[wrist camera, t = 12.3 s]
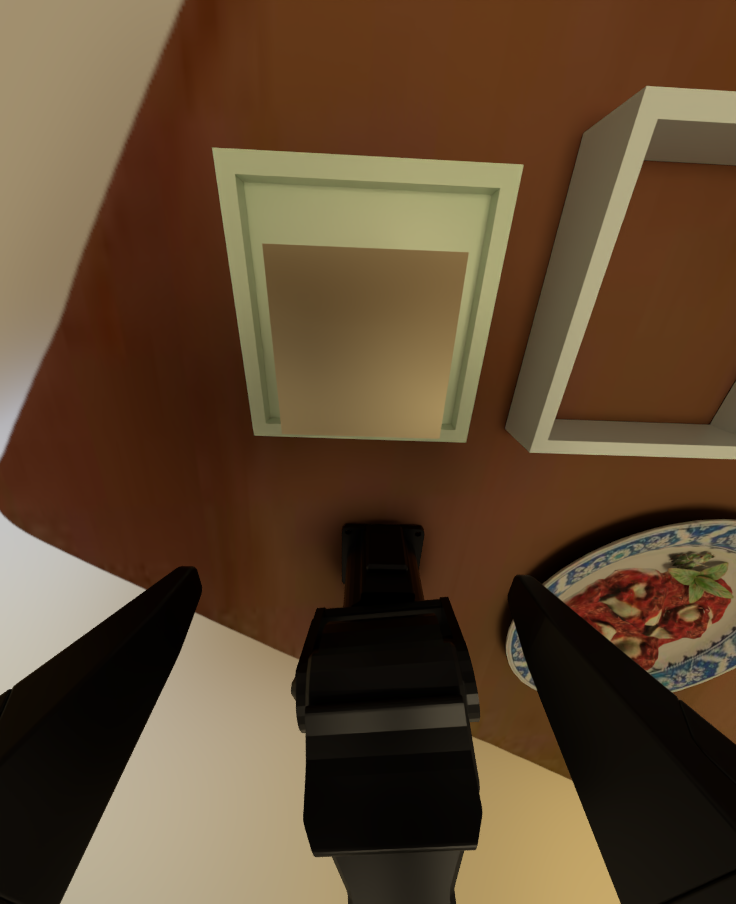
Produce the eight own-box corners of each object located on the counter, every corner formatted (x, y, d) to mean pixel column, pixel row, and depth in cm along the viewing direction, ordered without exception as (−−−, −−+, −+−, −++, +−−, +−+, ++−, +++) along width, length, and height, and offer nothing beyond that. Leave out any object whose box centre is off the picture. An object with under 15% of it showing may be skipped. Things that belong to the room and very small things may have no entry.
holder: (714, 435, 21) (775, 460, 18) (504, 428, 21) (529, 452, 17) (890, 150, 14) (1037, 110, 11) (583, 132, 14) (646, 86, 11)
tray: (457, 429, 21) (465, 442, 19) (263, 423, 20) (254, 435, 18) (504, 180, 15) (523, 164, 13) (231, 165, 14) (212, 147, 13)
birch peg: (402, 366, 18) (439, 438, 9) (324, 363, 18) (281, 434, 9) (410, 276, 16) (468, 252, 7) (321, 273, 15) (262, 243, 7)
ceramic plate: (602, 702, 38) (619, 732, 35) (444, 632, 31) (452, 663, 29) (837, 584, 28) (886, 613, 26) (682, 445, 22) (726, 466, 19)
